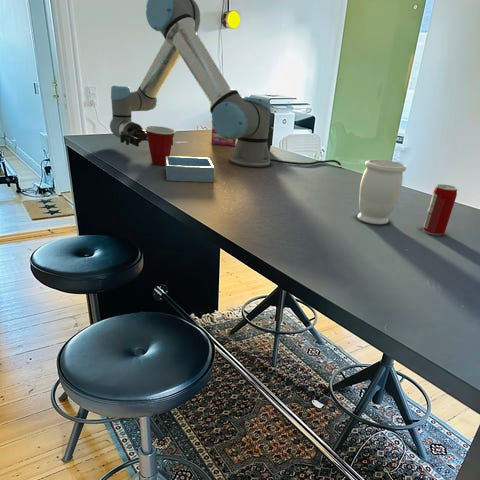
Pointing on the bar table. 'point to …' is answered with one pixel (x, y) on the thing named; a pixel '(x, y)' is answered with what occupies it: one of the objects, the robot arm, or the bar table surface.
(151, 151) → the plastic cup
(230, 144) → the candy bar box
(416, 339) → the bar table surface
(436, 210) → the soda can
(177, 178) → the tray
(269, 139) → the pen holder
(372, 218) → the jar
